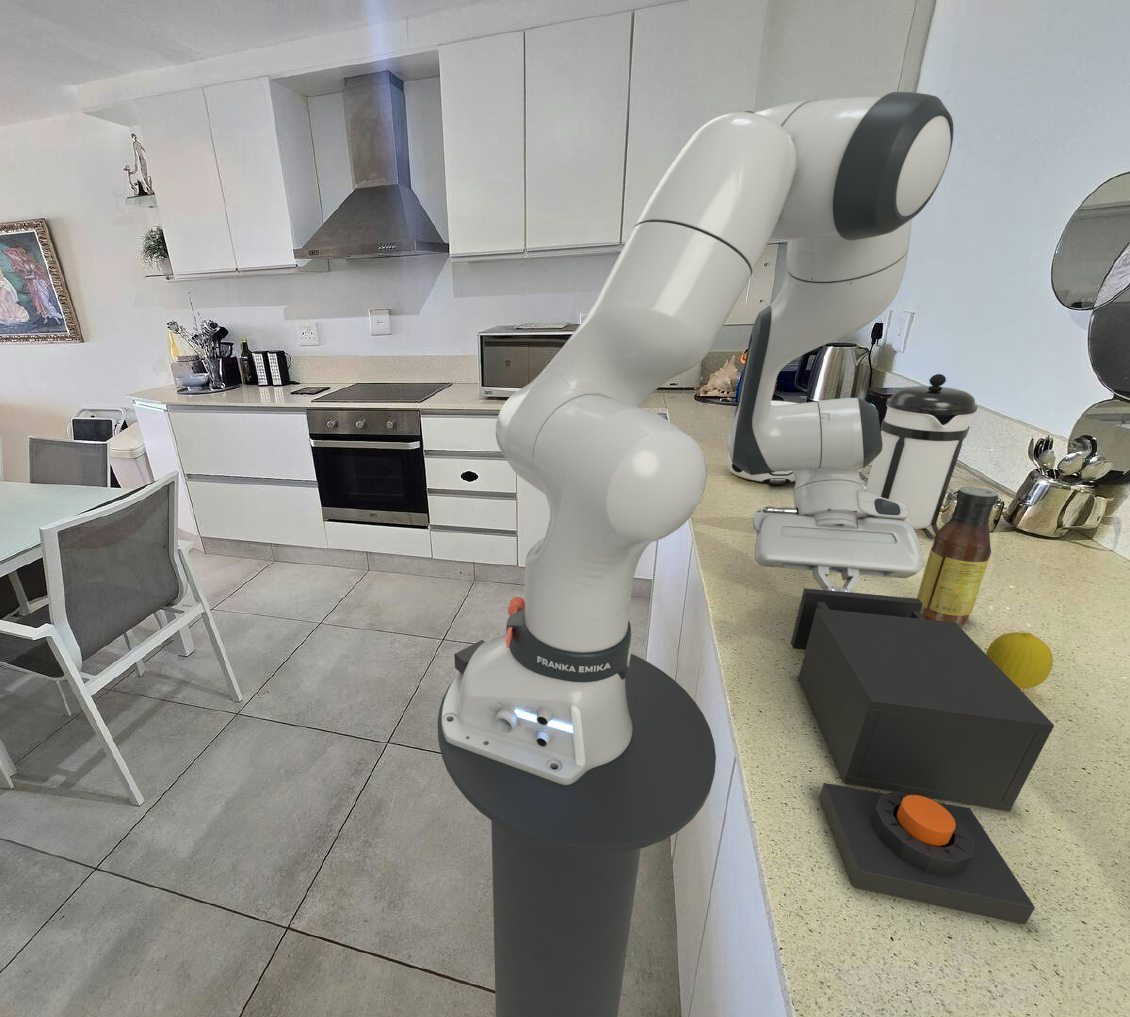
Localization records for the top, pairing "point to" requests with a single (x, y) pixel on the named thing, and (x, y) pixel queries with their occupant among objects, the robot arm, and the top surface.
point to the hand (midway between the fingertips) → (837, 601)
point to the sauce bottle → (958, 558)
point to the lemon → (1022, 658)
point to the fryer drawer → (848, 609)
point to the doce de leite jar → (767, 478)
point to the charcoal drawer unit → (919, 709)
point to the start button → (926, 820)
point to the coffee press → (921, 448)
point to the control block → (921, 856)
